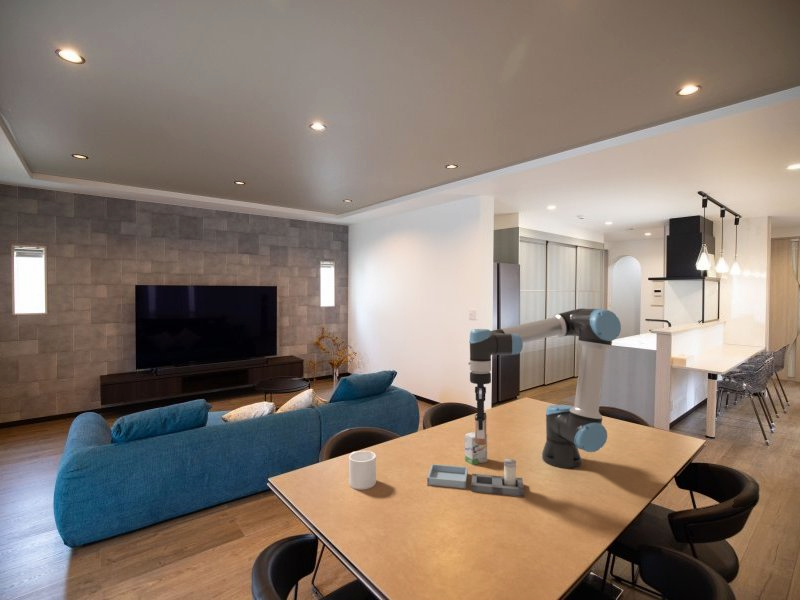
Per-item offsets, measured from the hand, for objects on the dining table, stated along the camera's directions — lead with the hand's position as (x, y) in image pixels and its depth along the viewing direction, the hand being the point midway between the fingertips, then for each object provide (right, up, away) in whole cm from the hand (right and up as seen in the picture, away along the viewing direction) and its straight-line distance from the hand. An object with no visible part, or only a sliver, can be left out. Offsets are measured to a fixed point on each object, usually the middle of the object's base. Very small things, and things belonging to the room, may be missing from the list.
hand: (480, 435), depth 139 cm
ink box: (+3, -19, +22) cm, 29 cm away
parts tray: (-11, -19, +6) cm, 23 cm away
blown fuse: (0, -3, 0) cm, 3 cm away
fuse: (+10, -18, -2) cm, 21 cm away
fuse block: (+6, -19, -1) cm, 20 cm away
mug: (-44, -20, +5) cm, 49 cm away
